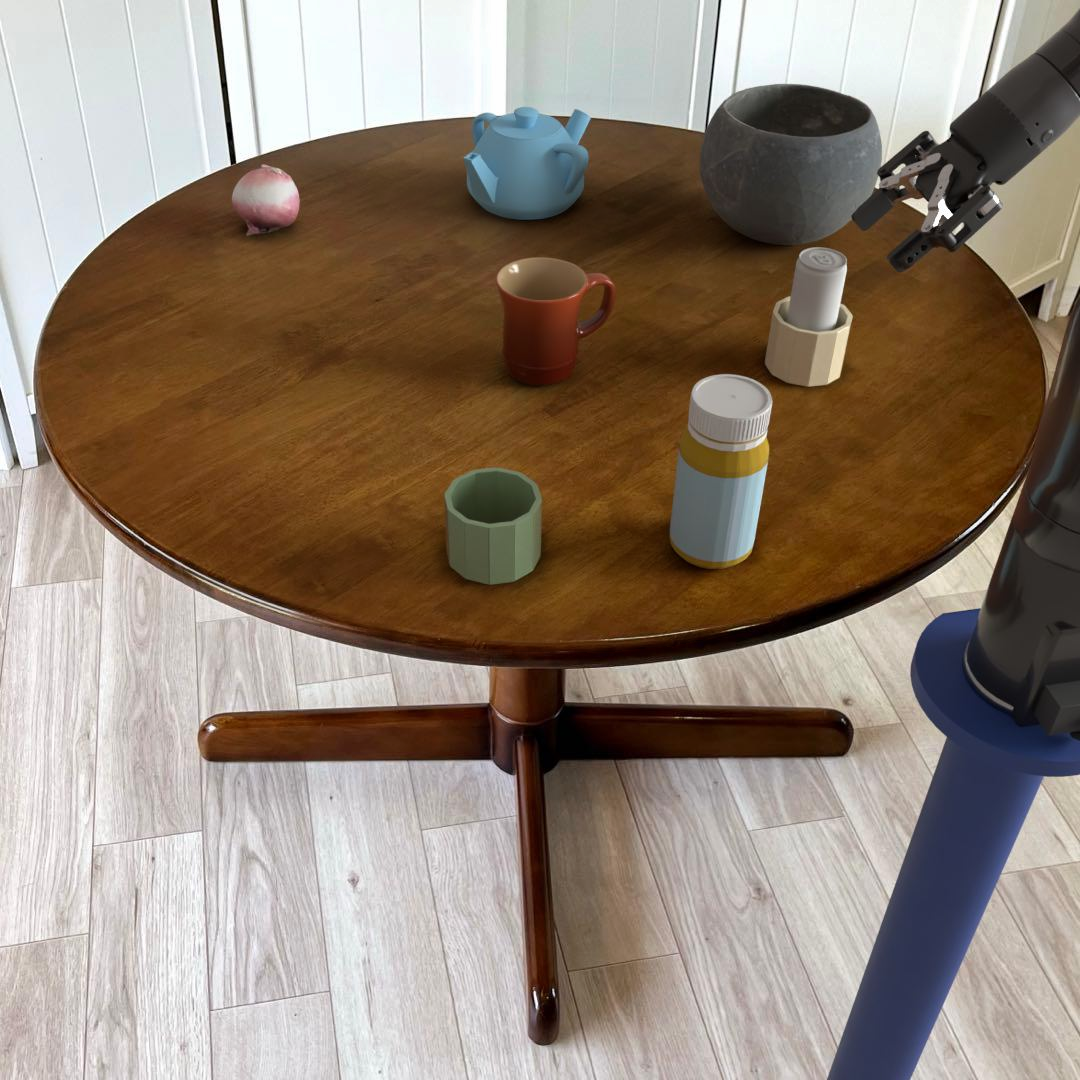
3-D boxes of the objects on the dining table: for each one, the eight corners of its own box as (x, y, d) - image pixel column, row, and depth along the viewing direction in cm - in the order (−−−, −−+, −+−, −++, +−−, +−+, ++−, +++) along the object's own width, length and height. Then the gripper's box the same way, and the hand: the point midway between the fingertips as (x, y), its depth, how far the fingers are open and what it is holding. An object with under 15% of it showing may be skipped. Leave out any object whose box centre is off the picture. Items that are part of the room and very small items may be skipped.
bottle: (767, 563, 102) (794, 412, 92) (690, 581, 100) (710, 429, 90) (729, 512, 107) (751, 364, 97) (655, 528, 105) (670, 379, 95)
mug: (513, 401, 119) (513, 307, 113) (484, 356, 126) (483, 264, 119) (626, 379, 123) (633, 287, 116) (593, 336, 129) (598, 246, 122)
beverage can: (816, 351, 128) (836, 244, 120) (834, 376, 124) (856, 267, 116) (772, 355, 127) (789, 248, 119) (789, 380, 123) (808, 272, 115)
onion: (316, 227, 147) (310, 169, 142) (265, 249, 142) (257, 191, 138) (272, 207, 151) (264, 150, 146) (221, 228, 146) (212, 170, 142)
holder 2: (852, 382, 123) (864, 329, 119) (780, 389, 122) (790, 336, 118) (824, 343, 129) (834, 291, 125) (755, 349, 128) (763, 298, 124)
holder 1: (547, 577, 100) (549, 520, 96) (455, 589, 99) (452, 531, 95) (529, 519, 106) (530, 463, 102) (441, 529, 104) (439, 473, 101)
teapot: (608, 222, 149) (613, 131, 142) (465, 230, 147) (463, 138, 140) (587, 170, 161) (590, 83, 154) (454, 176, 159) (451, 89, 152)
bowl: (901, 240, 147) (929, 116, 137) (779, 289, 137) (800, 160, 128) (778, 181, 159) (796, 63, 149) (659, 222, 150) (669, 99, 140)
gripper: (960, 64, 115) (824, 188, 121) (1036, 122, 105) (883, 256, 110) (998, 117, 120) (865, 234, 125) (1075, 178, 109) (925, 304, 115)
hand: (874, 244), depth 118 cm, fingers open, 8 cm apart
